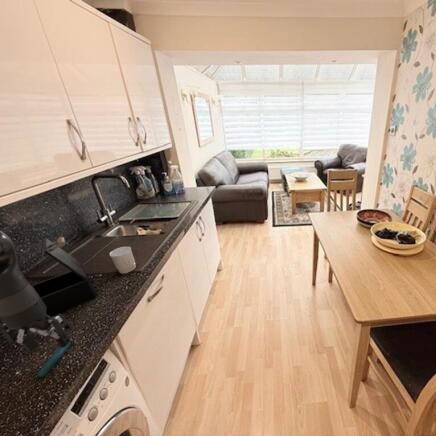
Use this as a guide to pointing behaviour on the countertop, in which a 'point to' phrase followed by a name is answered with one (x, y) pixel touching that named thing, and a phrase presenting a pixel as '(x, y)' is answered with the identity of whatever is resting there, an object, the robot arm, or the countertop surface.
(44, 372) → the teal rod
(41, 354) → the countertop surface
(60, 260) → the bin lid
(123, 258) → the white cup
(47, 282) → the bin
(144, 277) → the countertop surface
